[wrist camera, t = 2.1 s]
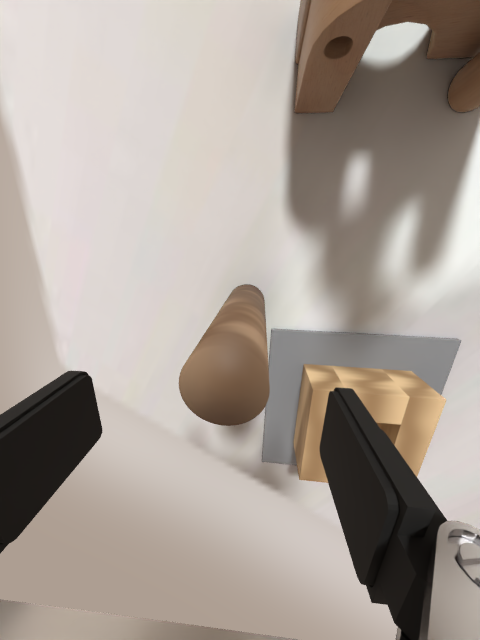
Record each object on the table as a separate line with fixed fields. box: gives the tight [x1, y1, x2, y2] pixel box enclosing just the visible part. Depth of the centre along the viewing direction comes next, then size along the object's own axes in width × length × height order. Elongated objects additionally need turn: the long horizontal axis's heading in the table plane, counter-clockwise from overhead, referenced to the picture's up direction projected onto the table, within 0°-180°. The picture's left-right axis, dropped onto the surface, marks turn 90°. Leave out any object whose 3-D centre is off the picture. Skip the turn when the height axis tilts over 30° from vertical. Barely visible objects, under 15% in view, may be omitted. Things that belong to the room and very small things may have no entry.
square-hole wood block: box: [293, 364, 446, 483], centre depth 25 cm, size 12×12×5 cm
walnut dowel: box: [179, 284, 270, 426], centre depth 17 cm, size 4×4×16 cm
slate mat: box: [262, 329, 461, 465], centre depth 28 cm, size 20×20×1 cm
